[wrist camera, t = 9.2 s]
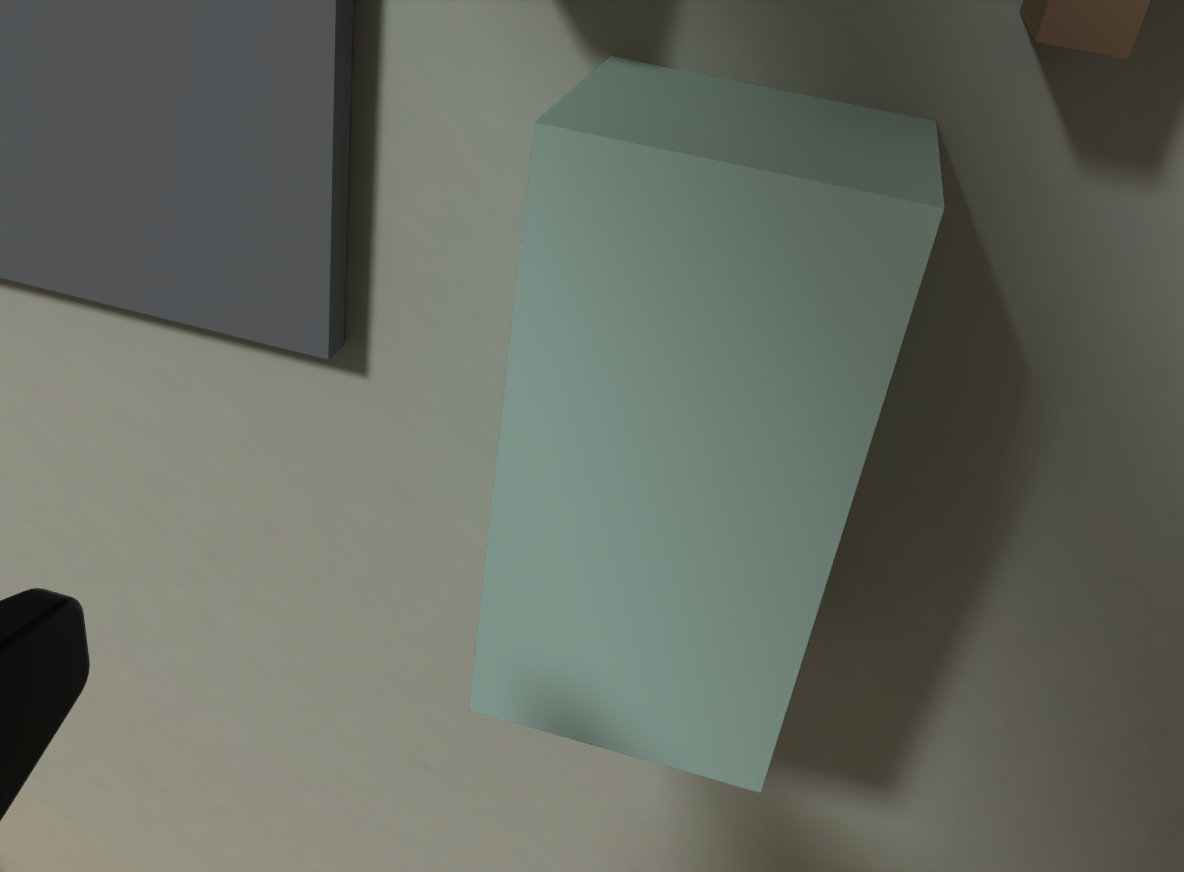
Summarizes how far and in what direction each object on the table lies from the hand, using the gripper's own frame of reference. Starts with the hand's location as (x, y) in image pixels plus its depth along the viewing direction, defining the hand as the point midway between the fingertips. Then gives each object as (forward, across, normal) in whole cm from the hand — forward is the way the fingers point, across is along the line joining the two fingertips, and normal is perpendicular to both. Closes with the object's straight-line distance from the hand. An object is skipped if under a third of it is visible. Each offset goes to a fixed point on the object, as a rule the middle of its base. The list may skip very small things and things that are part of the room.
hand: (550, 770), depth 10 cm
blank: (+9, 0, +1) cm, 9 cm away
